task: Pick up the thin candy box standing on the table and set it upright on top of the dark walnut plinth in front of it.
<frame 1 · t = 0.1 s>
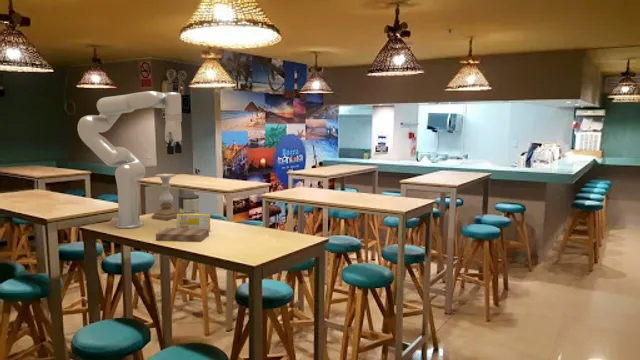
hand: (174, 153, 224), 37 cm above the table, tool pointing down, fingers open, 9 cm apart
candy box: (193, 231, 222), on the table
candle holder: (166, 218, 251), on the table
coffee can: (189, 222, 241), on the table
walnut plinth: (183, 237, 208), on the table
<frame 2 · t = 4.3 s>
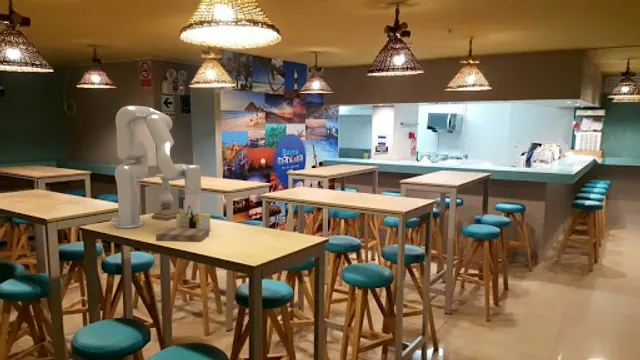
hand: (193, 228, 221), 1 cm above the table, tool pointing down, fingers closed on candy box, 2 cm apart
candy box: (193, 231, 222), on the table, touching gripper
everything else where it was.
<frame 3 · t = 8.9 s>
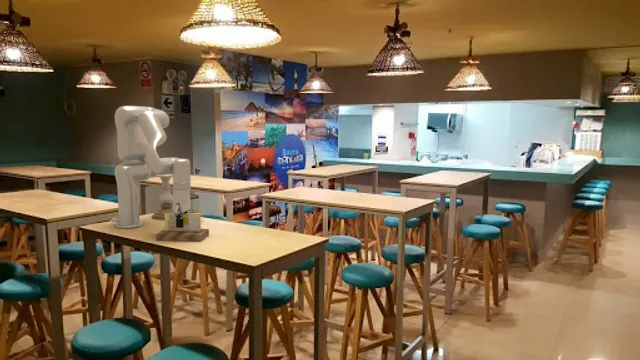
hand: (182, 225, 207), 6 cm above the table, tool pointing down, fingers open, 6 cm apart
candy box: (182, 231, 208), point 3 cm above the table, touching walnut plinth
everything else where it was.
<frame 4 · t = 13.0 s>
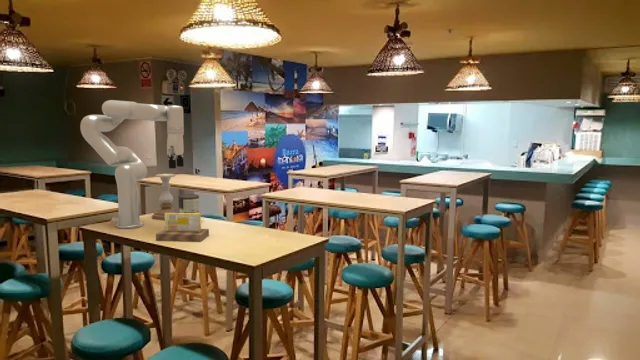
hand: (176, 167, 222), 30 cm above the table, tool pointing down, fingers open, 9 cm apart
nothing on the table moved.
at the end: candy box inside the target area on the walnut plinth (0.2 cm from its centre), point 2.8 cm above the walnut plinth's base; candy box tilted 0°; the gripper is holding nothing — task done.
